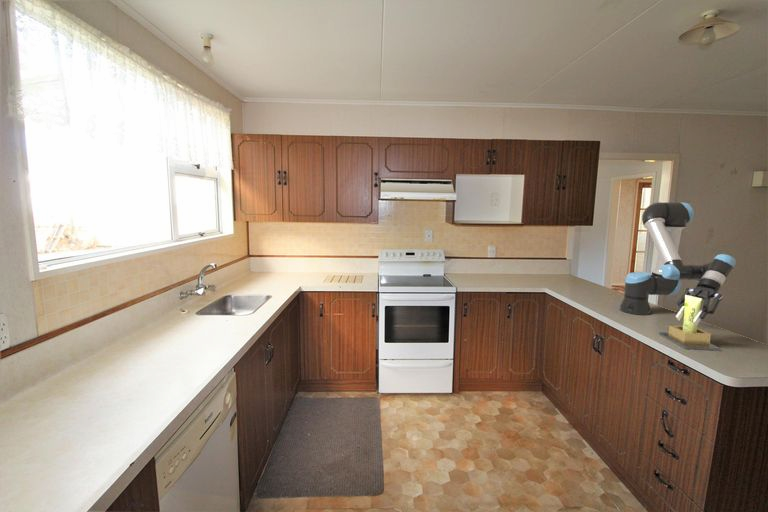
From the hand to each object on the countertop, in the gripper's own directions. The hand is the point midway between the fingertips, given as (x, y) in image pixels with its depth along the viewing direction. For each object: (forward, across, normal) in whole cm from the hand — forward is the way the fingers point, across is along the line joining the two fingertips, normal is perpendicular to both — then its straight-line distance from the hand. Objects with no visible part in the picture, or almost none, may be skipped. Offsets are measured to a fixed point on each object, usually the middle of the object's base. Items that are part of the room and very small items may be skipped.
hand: (686, 320), depth 158 cm
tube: (+4, 0, -9) cm, 9 cm away
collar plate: (+5, 0, -10) cm, 11 cm away
